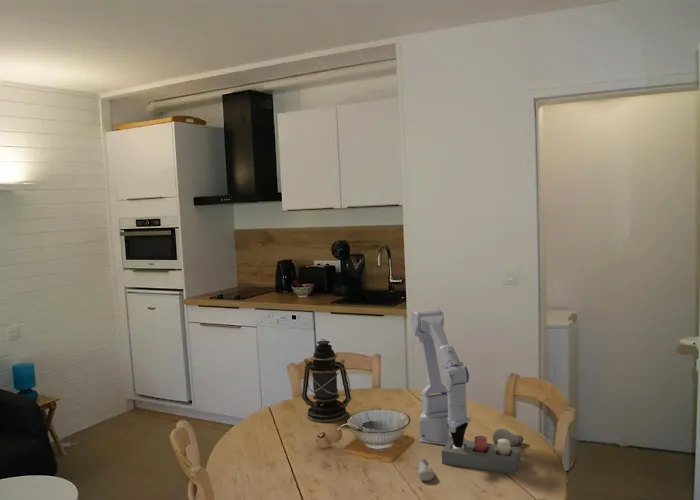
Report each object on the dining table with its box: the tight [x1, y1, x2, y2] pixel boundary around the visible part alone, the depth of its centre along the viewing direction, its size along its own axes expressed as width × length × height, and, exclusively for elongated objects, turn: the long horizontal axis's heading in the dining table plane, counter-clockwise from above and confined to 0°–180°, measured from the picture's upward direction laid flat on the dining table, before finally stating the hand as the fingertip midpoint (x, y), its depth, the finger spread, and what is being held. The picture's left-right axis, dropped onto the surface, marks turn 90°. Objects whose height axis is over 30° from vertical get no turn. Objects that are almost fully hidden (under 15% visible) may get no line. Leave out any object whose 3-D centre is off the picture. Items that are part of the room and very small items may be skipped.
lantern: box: [301, 338, 352, 423], centre depth 222 cm, size 20×16×30 cm
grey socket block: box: [441, 438, 522, 475], centre depth 177 cm, size 22×10×4 cm, turn 65°
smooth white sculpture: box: [416, 458, 435, 482], centre depth 169 cm, size 4×8×5 cm
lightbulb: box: [492, 428, 524, 446], centre depth 187 cm, size 6×6×11 cm
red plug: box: [474, 435, 488, 452], centre depth 177 cm, size 4×4×4 cm
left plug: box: [453, 445, 464, 450], centre depth 180 cm, size 4×4×4 cm
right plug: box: [498, 439, 511, 456], centre depth 174 cm, size 4×4×4 cm
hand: (458, 446), depth 180 cm, fingers closed, pressing on left plug
